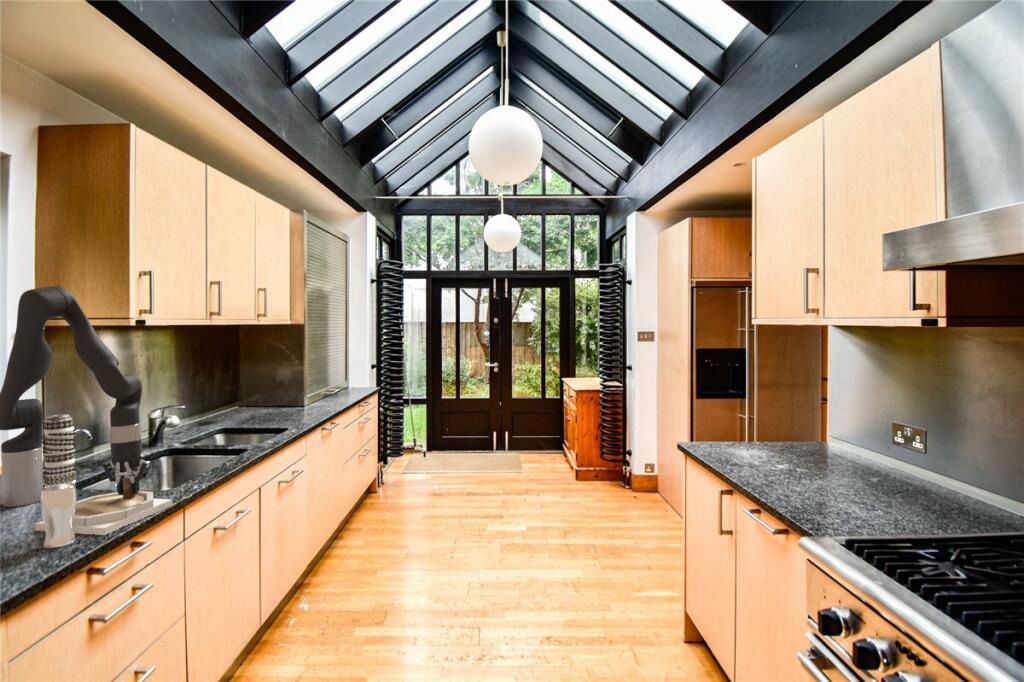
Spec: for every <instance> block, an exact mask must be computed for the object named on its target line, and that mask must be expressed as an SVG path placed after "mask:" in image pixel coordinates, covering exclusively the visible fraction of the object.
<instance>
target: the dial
mask: <svg viewBox="0 0 1024 682" xmlns="http://www.w3.org/2000/svg"><path fill="white" fill-rule="evenodd" d="M130 483H131V481H130V477H129V476H126V478H123V495H119V496H111V497H105V498H100V499H96V500H92V501H89V502H86V503H83V504H80V505H78V506H77V507H76V513H75V515H78V516H92V515H98V514H103V513H109V512H114V511H120V510H124V509H127V508H129V507H132V506H133V505H136V504H138V503H142V502H144V497H142V496H139V495H131V489H130Z"/></svg>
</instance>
